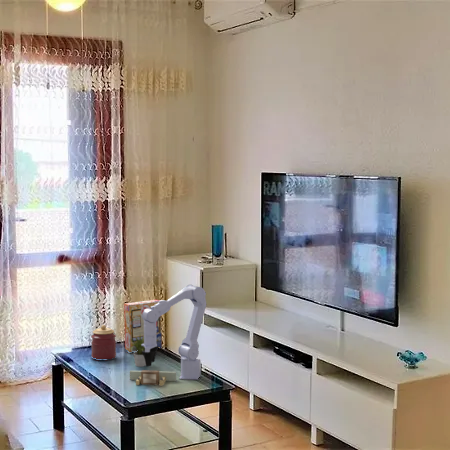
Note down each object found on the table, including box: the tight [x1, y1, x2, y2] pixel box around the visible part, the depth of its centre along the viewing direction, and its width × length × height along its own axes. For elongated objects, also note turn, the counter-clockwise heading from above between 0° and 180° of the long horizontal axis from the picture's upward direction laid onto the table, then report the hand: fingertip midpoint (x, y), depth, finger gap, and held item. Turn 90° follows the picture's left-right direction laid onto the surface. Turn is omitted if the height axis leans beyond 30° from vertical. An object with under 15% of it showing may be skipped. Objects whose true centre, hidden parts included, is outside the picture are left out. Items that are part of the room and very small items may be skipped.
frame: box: [140, 369, 160, 386], centre depth 335 cm, size 8×3×6 cm, turn 84°
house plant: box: [130, 334, 147, 368], centre depth 366 cm, size 14×14×16 cm
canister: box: [90, 324, 117, 360], centre depth 382 cm, size 13×13×18 cm
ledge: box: [129, 370, 177, 386], centre depth 337 cm, size 22×10×4 cm, turn 85°
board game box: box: [123, 299, 163, 352], centre depth 399 cm, size 20×6×27 cm, turn 126°
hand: (150, 363), depth 334 cm, fingers open, 7 cm apart
